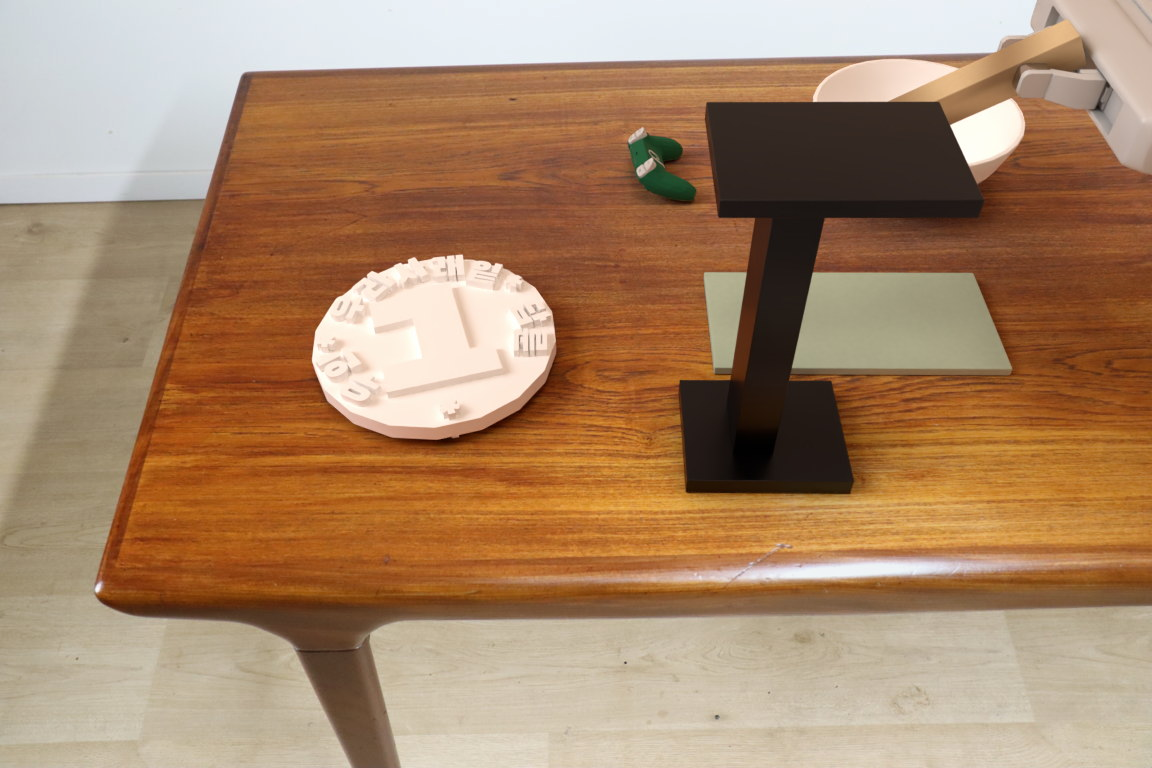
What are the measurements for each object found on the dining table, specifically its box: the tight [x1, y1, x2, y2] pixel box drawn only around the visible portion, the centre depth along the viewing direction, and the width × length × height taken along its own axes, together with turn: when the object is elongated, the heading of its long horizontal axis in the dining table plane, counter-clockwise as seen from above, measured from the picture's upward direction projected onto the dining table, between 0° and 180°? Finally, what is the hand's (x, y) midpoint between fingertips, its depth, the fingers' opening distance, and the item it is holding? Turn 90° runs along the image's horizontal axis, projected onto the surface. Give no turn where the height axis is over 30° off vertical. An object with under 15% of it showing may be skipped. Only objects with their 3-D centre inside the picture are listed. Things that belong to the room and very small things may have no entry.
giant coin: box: [311, 254, 557, 441], centre depth 78 cm, size 20×20×3 cm
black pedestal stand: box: [677, 101, 986, 495], centre depth 63 cm, size 14×10×26 cm
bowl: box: [812, 58, 1026, 186], centre depth 92 cm, size 20×19×8 cm
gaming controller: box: [627, 126, 698, 202], centre depth 95 cm, size 9×4×6 cm
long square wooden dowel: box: [888, 19, 1087, 125], centre depth 66 cm, size 23×2×5 cm, turn 90°
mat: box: [703, 271, 1013, 376], centre depth 81 cm, size 24×12×1 cm, turn 89°
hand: (1008, 66), depth 64 cm, fingers closed on long square wooden dowel, 2 cm apart
